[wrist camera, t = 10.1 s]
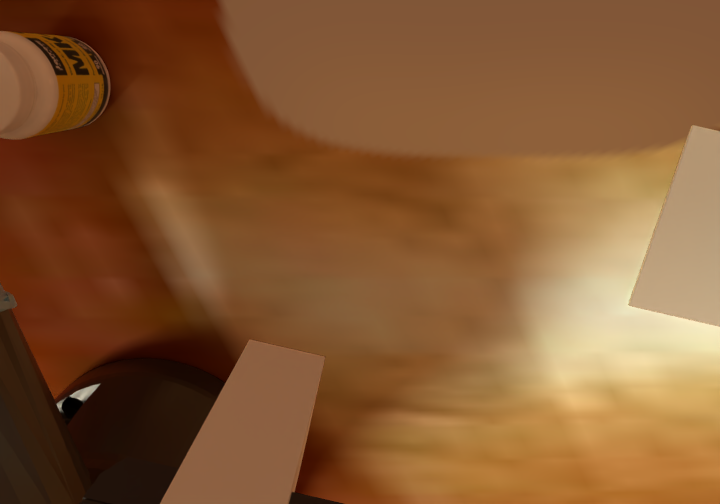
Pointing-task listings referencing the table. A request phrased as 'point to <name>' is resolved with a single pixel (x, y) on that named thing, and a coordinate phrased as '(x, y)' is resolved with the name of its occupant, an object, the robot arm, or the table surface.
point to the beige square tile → (687, 238)
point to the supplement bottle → (49, 84)
